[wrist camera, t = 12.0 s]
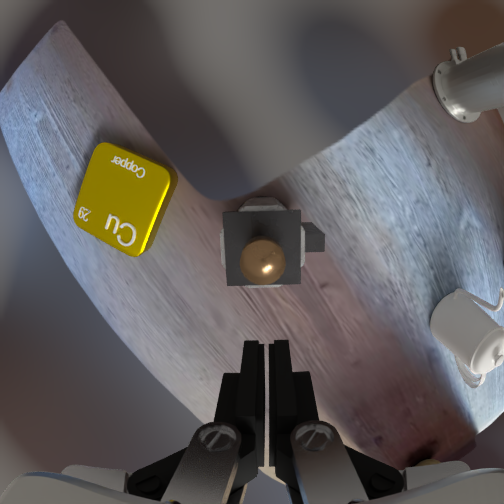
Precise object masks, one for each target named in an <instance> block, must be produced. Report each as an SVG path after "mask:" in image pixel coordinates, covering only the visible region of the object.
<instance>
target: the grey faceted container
mask: <svg viewBox="0 0 504 504" xmlns="http://www.w3.org/2000/svg"><path fill="white" fill-rule="evenodd" d="M257 236H269V237H272V238H274V239H275V240H276V241H278V243H279V244H280V245H281V247H282V249H283V252H284V256H285V261H286V265H285V270H284V272H283V274H282V276H281V277H280V278H279V279H278V280H277V281H275V282H273V283H271V284H267V285H258V284H254V283H252V282H250V281H249V280H248V279H246V278H245V276H244V275H243V273H242V271H241V268H240V258H241V254H242V251H243V248H244V246H245V244H246V243H247V242H248V241H249V240H250V239H252V238H254V237H257ZM220 244H221V259H222V265H223V267H224V268H225V269H226V277H227V286H246V287H247V286H248V288H260V287H280V285H281V286H282V285H287V284H301V267H302V266H303V265H304V263H305V252H324V247H325V234H324V233H323V232H322V231H321V230H319V229H318V228H317V227H316V226H315V225H314V224H313V223H312V222H301V210H288V209H287V208H286V207H285V206H284V205H283V204H282V203H281V202H279V201H278V200H277V199H276V198H274V197H255V198H250V199H248V200H247V201H246V202H245V203H244V204H243V205H241V207H240V208H239V209H238V210H237V211H232V212H223V229H222V230H221V232H220Z"/></svg>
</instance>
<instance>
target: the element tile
mask: <svg viewBox="0 0 504 504" xmlns="http://www.w3.org/2000/svg"><path fill="white" fill-rule="evenodd" d="M177 182H178V176H177V173H176V172H175V171H174V170H173V169H172V168H170V167H168V166H166V165H164V164H162V163H159V162H157V161H155V160H153V159H150V158H148V157H146V156H144V155H141V154H139V153H137V152H134V151H132V150H130V149H128V148H125V147H123V146H121V145H118V144H112V143H107V142H103V143H100V144H98V145H97V147H96V148H95V149H94V151H93V154H92V157H91V159H90V162H89V165H88V168H87V170H86V173H85V176H84V179H83V182H82V185H81V188H80V192H79V195H78V198H77V201H76V205H75V208H74V212H73V219H74V222H75V223H76V225H77V226H78V227H79V228H81V229H83V230H84V231H86V232H88V233H90V234H91V235H93V236H95V237H96V238H98V239H100V240H102V241H103V242H105V243H107V244H109V245H110V246H112V247H114V248H116V249H118V250H119V251H121V252H123V253H125V254H127V255H129V256H131V257H137V256H140V255H141V254H143V253H144V252H146V251H147V250H148V249H149V248H150V247H151V246H152V244H153V241H154V239H155V236H156V234H157V231H158V229H159V226H160V224H161V221H162V219H163V216H164V214H165V211H166V209H167V207H168V204H169V202H170V200H171V197H172V195H173V193H174V190H175V188H176V186H177Z"/></svg>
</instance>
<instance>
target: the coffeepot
mask: <svg viewBox="0 0 504 504" xmlns="http://www.w3.org/2000/svg"><path fill="white" fill-rule="evenodd" d="M471 299H472V300H471ZM473 300H474V301H475V302H477V303H479V304H480V305H482V306H484V307H485V308H487V309H489V310H491V311H494V312H496V311H499V310H500V308H501V307H502V304H503V300H504V290H503V288H502V287H501V288H500V294H499V301H498V304H497V306H493V305H491V304H489V303H488V302H486V301H484V300H482V299H480V298H479V297H477V296H475V295H473V294H471V293H470V292H468V291H466V290H464V289H461V288H458V289H456V290H455V292H453V293H450V294H448V295H447V296H445V297H444V298H443V299H442V300H441V301H440V302H439V303H438V304H437V306H436V307H435V309H434V311H433V314H432V317H431V321H430V329H431V332H432V334H433V336H434V337H435V338H436V339H437V340H438V341H440V342H441V343H442V344H443V345H444V346H445V347H446V348H448V349H449V350H450V351H451V352H452V353H453V354H454V356H455V360H456V363H457V366H458V369H459V371H460V374H461V376H462V377H463V379H464V381H465V382H466V383H467V385H469V386H470V387H471V388H477V387H478V386H480V385H481V384H482V383H483V382H484V380H485V377H486V373H488V372H490V371H491V370H493V369H494V368H495V367H498V366H500V365H501V363H502V362H503V360H504V328H503V327H502V326H499V325H498V324H497V323H496V322H495V321H494V320H493V319H492V318H491V317H490V316H489V315H488V314H487V313H486V312H485V311H484V310H482V309H481V308H480V307H479V306H478V305H477V304H476V303H475V302H474V301H473ZM464 363H465V364H466V365H467V366H468V367H469V369H470V371H471V372H472V373H474V374H481V377H480V378H476V377H474V376H473V375H472V374H471V373H470V372H469V371H468V370H467V368H466V367H465V365H464ZM480 379H481V380H480ZM478 380H480V383H479V385H476V384H474V383H473V382H476V381H478ZM472 381H473V382H472Z"/></svg>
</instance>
